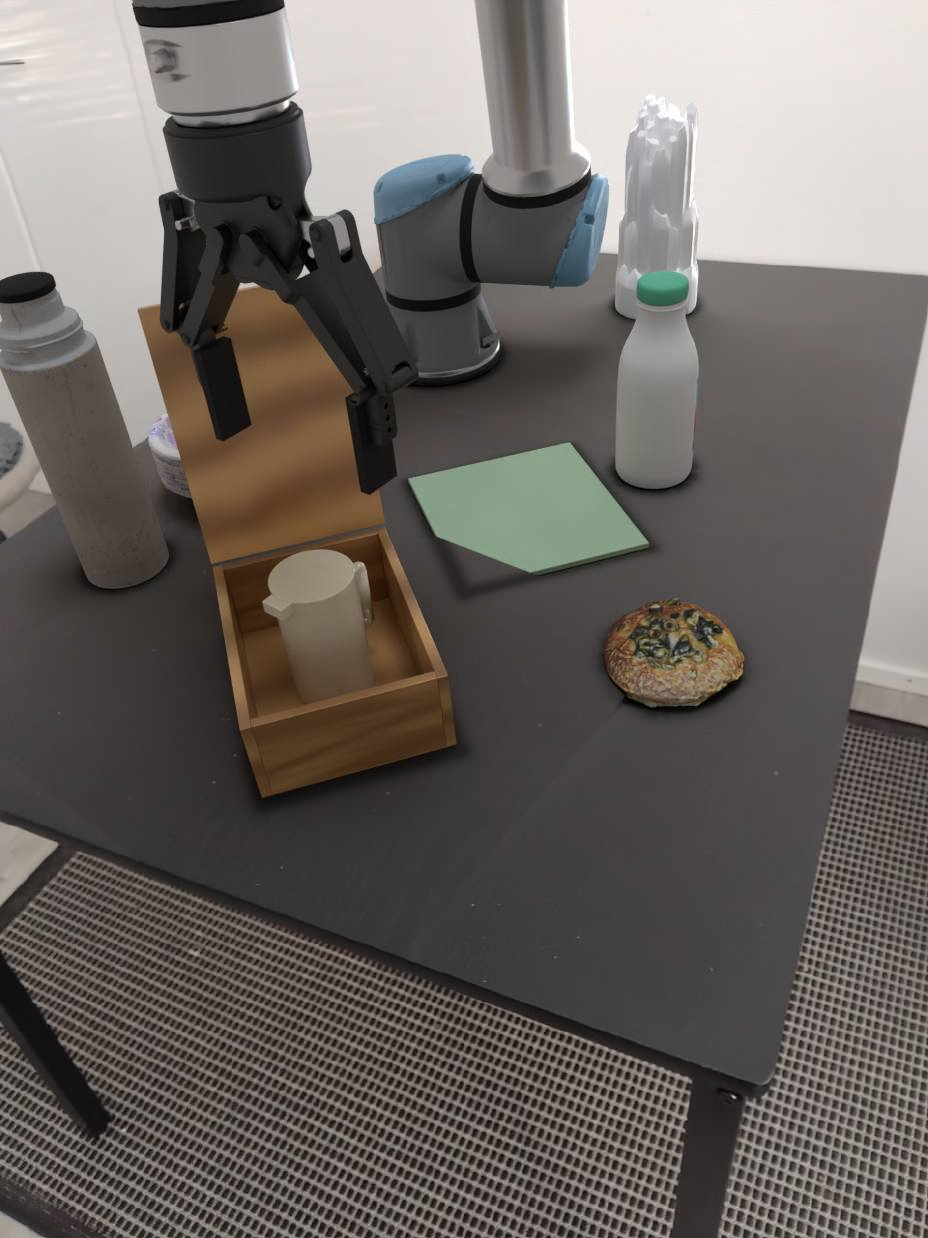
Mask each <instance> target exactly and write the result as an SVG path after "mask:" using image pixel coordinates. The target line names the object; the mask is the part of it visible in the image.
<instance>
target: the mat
mask: <svg viewBox="0 0 928 1238" xmlns="http://www.w3.org/2000/svg"><path fill="white" fill-rule="evenodd" d="M407 482H408V485H409V488H411V491H412V494H413V495H414V497H415V499H416V501H417V503H418V505H419V507H420V509H421V511H422V513H423V516H424V518H425V520H426V522H427V524H428V526H429V529H430V531H431V532H432V534H433V536H434V537H437V538H440V539H442V540H445V541H447V542H450V543H452V544H455V545H457V546H460V547H462V548H465V549H467V550H471V551H473V552H476V553H478V554H481V555H484V556H485V557H488V558H491V559H494V560H495V561H498V562H501V563H504V564H506V565H509V566H512V567H514V568H517V569H520V570H522V571H525V572H526V573H527V572H528V573H530V574H533V575H535V576H541V575H546V574H548V573H554V572H557V571H561V570H565V569H569V568H573V567H577V566H582V565H585V564H590V563H593V562H597V561H601V560H605V559H610V558H613V557H617V556H623V555H626V554H629V553H634V552H637V551H642V550H646V549H649V548H650V542H649V541H648V540H647V538H646V537H645V536H644V534H642V532H641V531H640V529H639V528H638V527H637V526H636V524H635V523H634V521H632V519H631V518H630V517H629V515H628V514H627V513H626V512H625V511H624V509H623V508H622V507H621V505H620V504H619V503H618V502H617V501H616V499H615V498H614V496H613V495H612V493H610V491H609V490H608V489H607V488H606V486H605V485H604V484H603V483H602V481H601V480H600V479H599V478H598V476H597V475H596V474H595V473H594V471H593V470H592V469H591V467H590V466H589V465H588V463H587V462H586V461H585V460H584V459H583V457H582V456H581V455H580V453H579V452H578V451H577V450H576V448H575V447H574V446H573V445H572V443H571V442H570V441H569V442H564V443H559V444H556V445H550V446H546V447H543V448H538V449H532V450H529V451H523V452H520V453H516V454H512V455H507V456H502V457H498V458H493V459H489V460H485V461H480V462H476V463H470V464H466V465H461V466H458V467H454V468H449V469H445V470H440V471H435V472H431V473H427V474H423V475H418V476H413V477H409V478H408V479H407Z"/></svg>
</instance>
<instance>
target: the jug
mask: <svg viewBox="0 0 928 1238" xmlns="http://www.w3.org/2000/svg"><path fill="white" fill-rule="evenodd" d="M268 587H269V591H270V596H269V597H268V598H266V599H265V600H263V601H262V603H263V607H264V611H265V612H266V613H268V614H270V615H272V616H274V617H276V618H277V621H278V625H279V629H280V632H281V636H282V640H283V644H284V647H285V651H286V655H287V659H288V662H289V666H290V670H291V674H292V678H293V681H294V685H295V689H296V693H297V696H298V697H299V699H300V700H301V701H302V702H303V703H304V704H305V705H307V704H311V703H315V702H319V701H323V700H326V699H330V698H334V697H338V696H342V695H346V694H349V693H353V692H357V691H361V690H365V689H368V688H372V687H373V686H374V683H375V673H374V667H373V662H372V657H371V652H370V646H369V641H368V636H367V631H366V630H367V629H368V628H370V627H371V626H372V624H373V623H374V621H375V615H374V610H373V604H372V599H371V593H370V588H369V582H368V577H367V571H366V566H365V565H364V564H363V563H362V562H355V563H352V561H351V560H350V559H349V558H348V557H347V556H345V555H344V554H342V553H339V552H337V551H332V550H324V549H317V550H308V551H304V552H300V553H297V554H294V555H292V556H290V557H288V558H286V559H284V560H283V561H281V562H280V563H279V564H277V565H276V566H275V567H274V569H273V570H272V571H271V573H270V575H269V578H268Z"/></svg>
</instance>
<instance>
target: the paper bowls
mask: <svg viewBox="0 0 928 1238" xmlns="http://www.w3.org/2000/svg"><path fill="white" fill-rule="evenodd" d="M147 443H148V446H149V448H150V451H151V454H152V458H153V462H154V464H155V466H156V469H157V473H158V475H159V478H160V480H161V482H162V484H163V486H164V487H165V488H166V489H168V490H169V491H171V492H172V493H174V494H176V495H179V496H181V497H185V498H190V499H192V496H191V493H190V489H189V486H188V482H187V479H186V475H185V472H184V469H183V465H182V462H181V458H180V455H179V451H178V448H177V445H176V441H175V438H174V434H173V431H172V427H171V424H170V421H169V417H168V414H167V411H166V412H164V413H163V414H162V415H161V416H159V418H157V419H156V421H154V422H153V424H152V426H151V427H150V430H149V432H148V435H147Z"/></svg>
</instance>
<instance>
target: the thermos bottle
mask: <svg viewBox="0 0 928 1238" xmlns="http://www.w3.org/2000/svg"><path fill="white" fill-rule="evenodd" d="M56 287H57V282H56V280H55V277H54V275H53V274H52V273H50V272H46V271H26V272H21V273H17V274H13V275H10V276H7V277H4V278H1V279H0V319H1V321H0V350H1V351H0V372H1V374H2V378H3V380H4V382H5V384H6V387H7V389H8V391H9V393H10V396H11V398H12V401H13V404H14V405H15V409H16V410H17V413H18V415H19V418H20V420H21V422H22V425H23V428H24V430H25V432H26V434H27V437H28V439H29V441H30V444H31V447H32V450H33V452H34V454H35V457H36V458H37V461H38V463H39V466H40V468H41V470H42V473H43V475H44V478H45V480H46V482H47V485H48V488H49V490H50V492H51V495H52V497H53V499H54V501H55V504H56V507H57V509H58V511H59V514H60V516H61V519H62V521H63V524H64V527H65V528H66V531H67V533H68V535H69V539H70V540H71V543H72V546H73V547H74V550H75V552H76V554H77V557H78V560H79V562H80V564H81V566H82V569H83V571H84V572H83V573H84V574H85V576H86V578H87V580H88V581H89V582H90V583H91V584H93V585H94V586H96V587H98V588H102V589H110V590H115V589H116V590H117V589H125V588H130V587H133V586H137V585H139V584H142V583H144V582H147V581H148V580H150V579H152V578H153V577H155V576H156V575H157V574H159V573H160V572H161V571H162V570H164V568H165V567H166V565H167V563H168V561H169V557H170V552H169V548H168V546H167V542H166V539H165V536H164V533H163V531H162V530H163V529H162V527H161V525H160V522H159V519H158V517H157V513H156V511H155V508H154V504H153V501H152V498H151V495H150V493H149V489H148V486H147V484H146V481H145V478H144V475H143V472H142V469H141V467H140V464H139V462H138V458H137V455H136V453H135V450H134V447H133V444H132V440H131V437H130V434H129V430H128V428H127V426H126V422H125V419H124V416H123V413H122V410H121V408H120V405H119V401H118V398H117V396H116V393H115V390H114V387H113V383H112V381H111V378H110V375H109V371H108V369H107V366H106V363H105V361H104V358H103V355H102V352H101V349H100V346H99V343H98V340H97V337H96V336H95V334H94V333H92V332H91V331H89V330H88V329H84V326H83V325H84V320H83V319H82V318H81V317H80V315H79V312H78V311H77V310H76V309H75V308H73V307H70V306H67V305H64V302H63V299H62V296H61V294H60V292H59V290H57V288H56Z"/></svg>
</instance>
